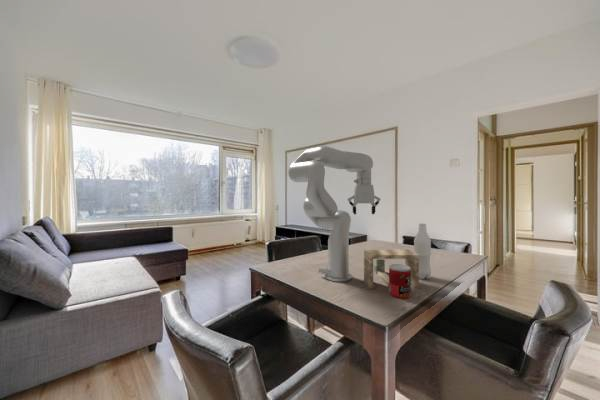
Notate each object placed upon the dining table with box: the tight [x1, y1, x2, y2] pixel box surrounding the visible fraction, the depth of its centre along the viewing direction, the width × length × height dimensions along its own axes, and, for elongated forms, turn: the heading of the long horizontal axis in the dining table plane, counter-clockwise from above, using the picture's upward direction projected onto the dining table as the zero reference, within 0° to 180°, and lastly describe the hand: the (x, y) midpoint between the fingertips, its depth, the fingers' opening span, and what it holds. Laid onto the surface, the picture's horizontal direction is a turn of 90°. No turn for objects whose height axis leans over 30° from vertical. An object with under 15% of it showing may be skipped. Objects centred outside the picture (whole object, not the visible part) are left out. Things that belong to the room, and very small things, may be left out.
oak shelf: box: [363, 249, 420, 290], centre depth 106 cm, size 20×10×14 cm, turn 89°
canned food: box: [388, 263, 412, 300], centre depth 95 cm, size 8×8×11 cm
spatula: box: [373, 259, 389, 287], centre depth 114 cm, size 4×20×7 cm, turn 179°
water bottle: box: [413, 223, 432, 280], centre depth 115 cm, size 7×7×25 cm
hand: (363, 214), depth 132 cm, fingers open, 9 cm apart
